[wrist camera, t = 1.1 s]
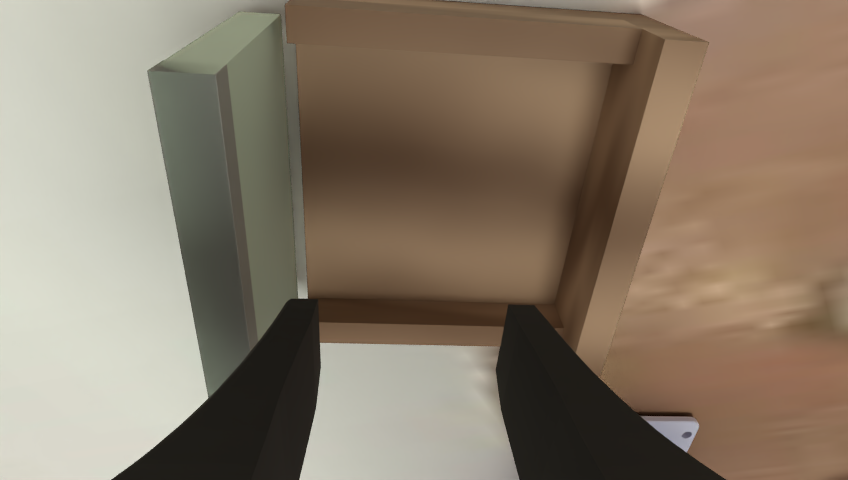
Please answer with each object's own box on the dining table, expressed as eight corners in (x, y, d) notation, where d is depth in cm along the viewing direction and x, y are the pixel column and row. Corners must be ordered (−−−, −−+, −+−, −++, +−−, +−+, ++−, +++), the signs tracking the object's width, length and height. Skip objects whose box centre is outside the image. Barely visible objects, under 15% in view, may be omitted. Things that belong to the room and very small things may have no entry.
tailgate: (299, 307, 22) (263, 456, 16) (267, 306, 22) (219, 456, 16) (281, 14, 16) (215, 74, 10) (239, 11, 16) (147, 71, 10)
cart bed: (567, 302, 24) (600, 375, 20) (313, 295, 23) (297, 370, 20) (642, 14, 18) (709, 42, 14) (300, -10, 17) (274, 13, 13)
